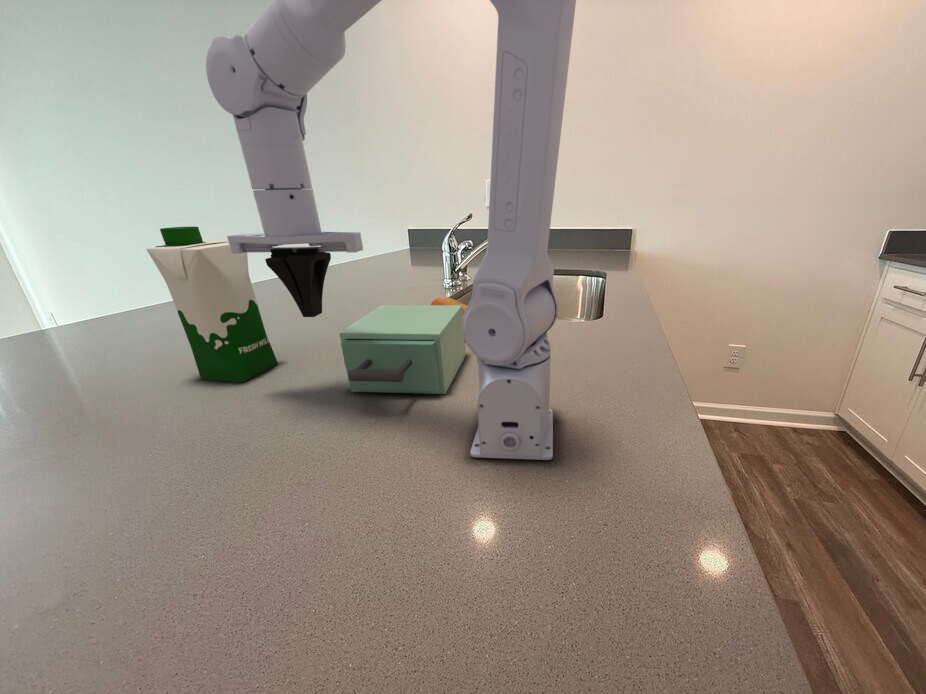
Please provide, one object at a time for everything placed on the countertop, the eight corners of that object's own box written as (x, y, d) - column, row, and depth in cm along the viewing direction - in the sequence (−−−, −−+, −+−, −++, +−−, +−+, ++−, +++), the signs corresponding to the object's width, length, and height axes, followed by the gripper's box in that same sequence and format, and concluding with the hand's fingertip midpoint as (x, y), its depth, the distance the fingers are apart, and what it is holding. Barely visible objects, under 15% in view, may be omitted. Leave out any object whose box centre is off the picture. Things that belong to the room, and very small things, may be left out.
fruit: (413, 327, 74) (431, 286, 72) (451, 342, 78) (469, 304, 76) (424, 340, 67) (444, 296, 65) (465, 356, 71) (485, 315, 70)
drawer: (427, 410, 47) (421, 359, 44) (332, 407, 48) (320, 357, 45) (458, 355, 62) (455, 315, 59) (386, 354, 63) (380, 314, 60)
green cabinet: (445, 394, 52) (439, 333, 49) (351, 391, 53) (339, 332, 50) (465, 355, 64) (462, 305, 61) (388, 354, 66) (381, 304, 62)
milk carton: (239, 358, 65) (194, 225, 56) (288, 362, 63) (250, 224, 55) (189, 381, 57) (129, 230, 49) (244, 386, 56) (191, 230, 47)
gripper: (364, 188, 46) (383, 306, 52) (245, 191, 47) (276, 306, 53) (334, 188, 40) (359, 322, 45) (197, 191, 41) (238, 321, 47)
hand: (312, 314), depth 49 cm, fingers closed
